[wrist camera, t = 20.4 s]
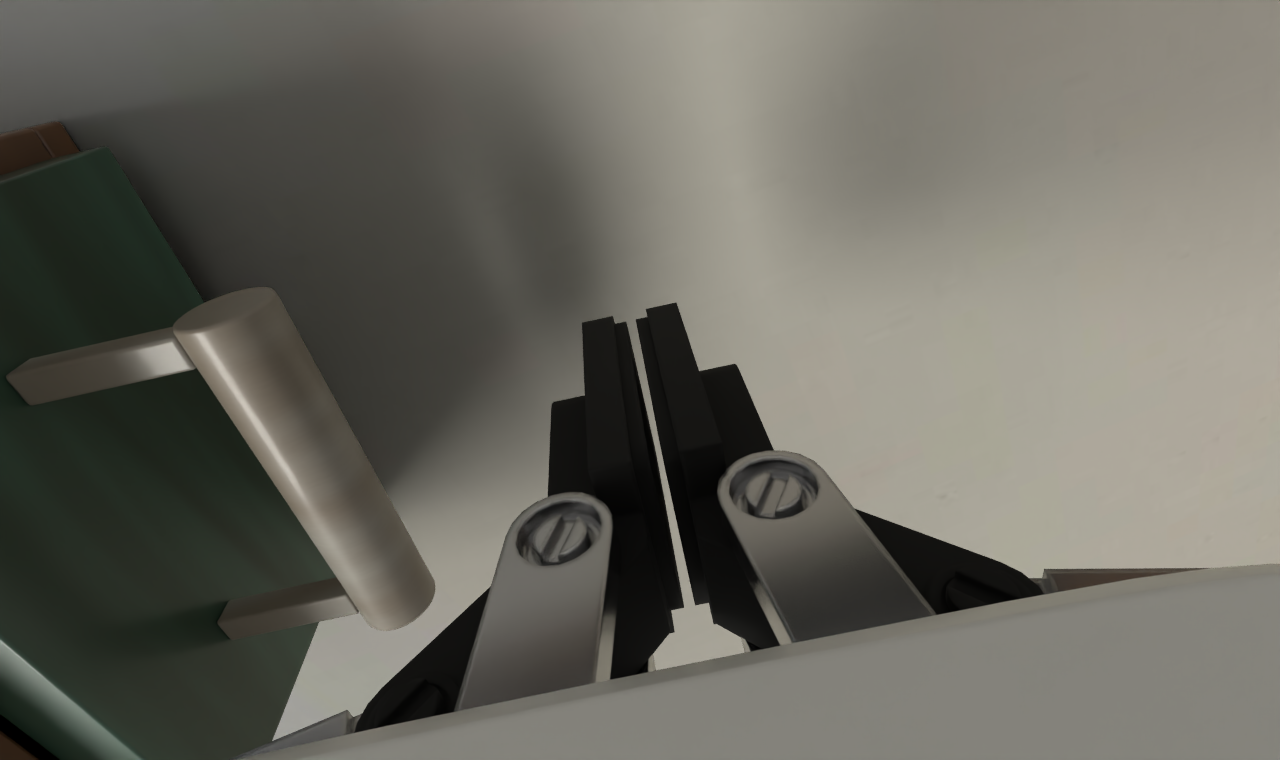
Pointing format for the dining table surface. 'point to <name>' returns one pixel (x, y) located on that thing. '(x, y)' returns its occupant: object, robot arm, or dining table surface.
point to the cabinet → (3, 155)
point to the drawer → (165, 489)
